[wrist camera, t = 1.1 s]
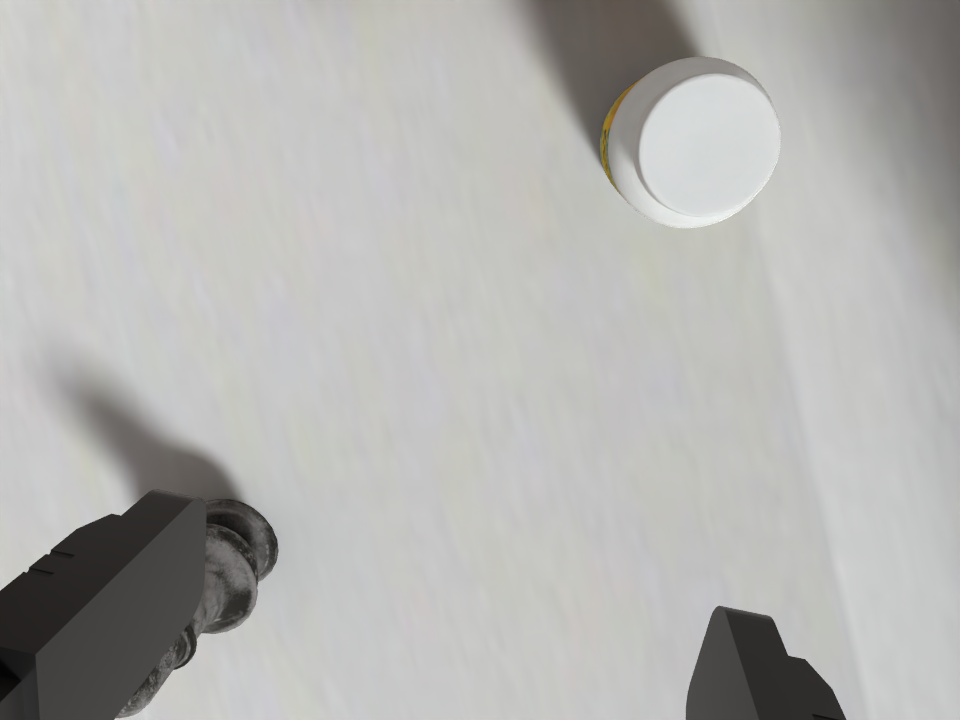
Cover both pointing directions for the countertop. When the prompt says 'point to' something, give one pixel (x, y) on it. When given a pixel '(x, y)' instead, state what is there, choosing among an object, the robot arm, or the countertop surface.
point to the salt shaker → (218, 586)
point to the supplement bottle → (691, 142)
